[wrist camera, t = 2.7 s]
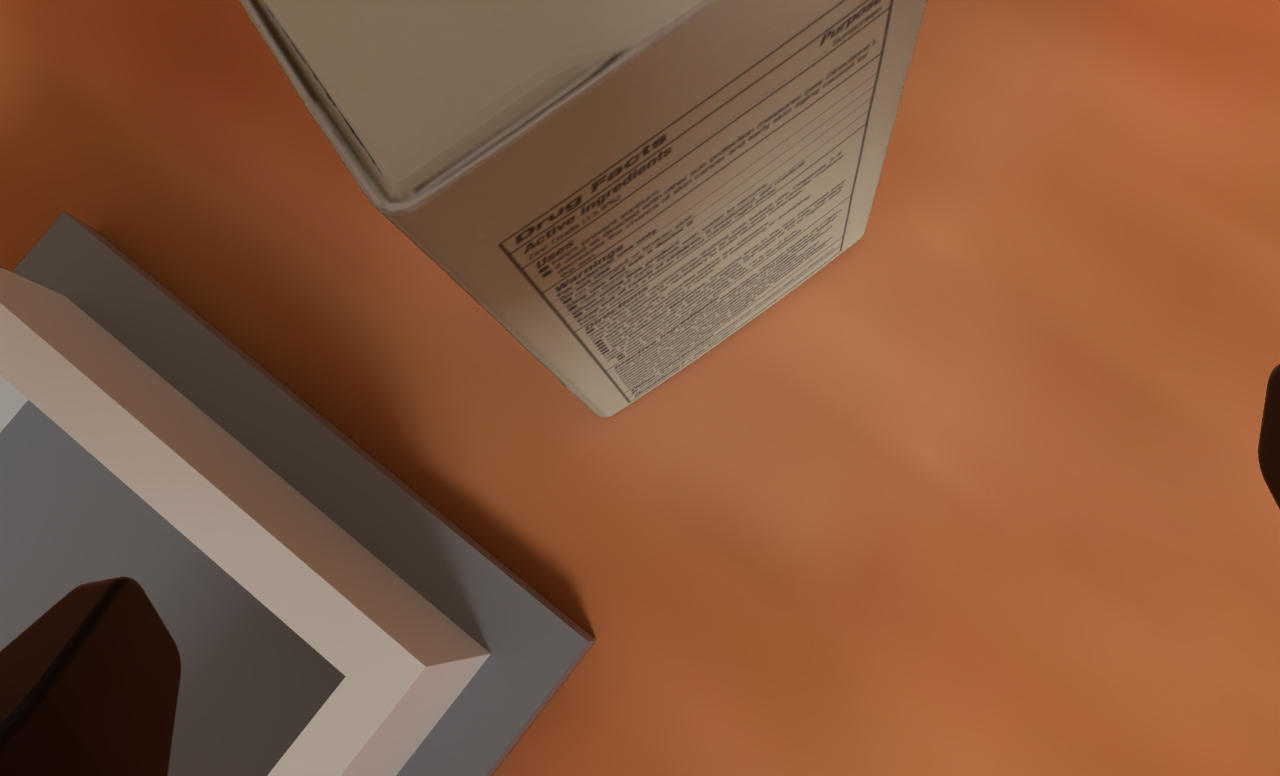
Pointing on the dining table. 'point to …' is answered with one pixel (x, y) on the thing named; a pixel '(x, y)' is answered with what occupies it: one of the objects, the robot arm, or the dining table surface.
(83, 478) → the holder
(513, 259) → the skincare box
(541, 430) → the dining table surface
